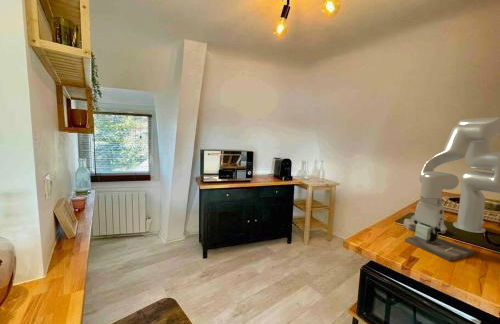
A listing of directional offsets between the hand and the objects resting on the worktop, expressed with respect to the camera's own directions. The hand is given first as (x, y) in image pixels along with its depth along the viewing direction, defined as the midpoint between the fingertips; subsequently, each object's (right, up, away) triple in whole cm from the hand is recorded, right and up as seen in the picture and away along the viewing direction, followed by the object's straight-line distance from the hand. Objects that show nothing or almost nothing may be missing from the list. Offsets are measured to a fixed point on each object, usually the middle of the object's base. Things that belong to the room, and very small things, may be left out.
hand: (426, 237), depth 105 cm
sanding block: (0, -1, 0) cm, 1 cm away
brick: (+10, -1, +15) cm, 18 cm away
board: (+2, -3, -4) cm, 5 cm away
